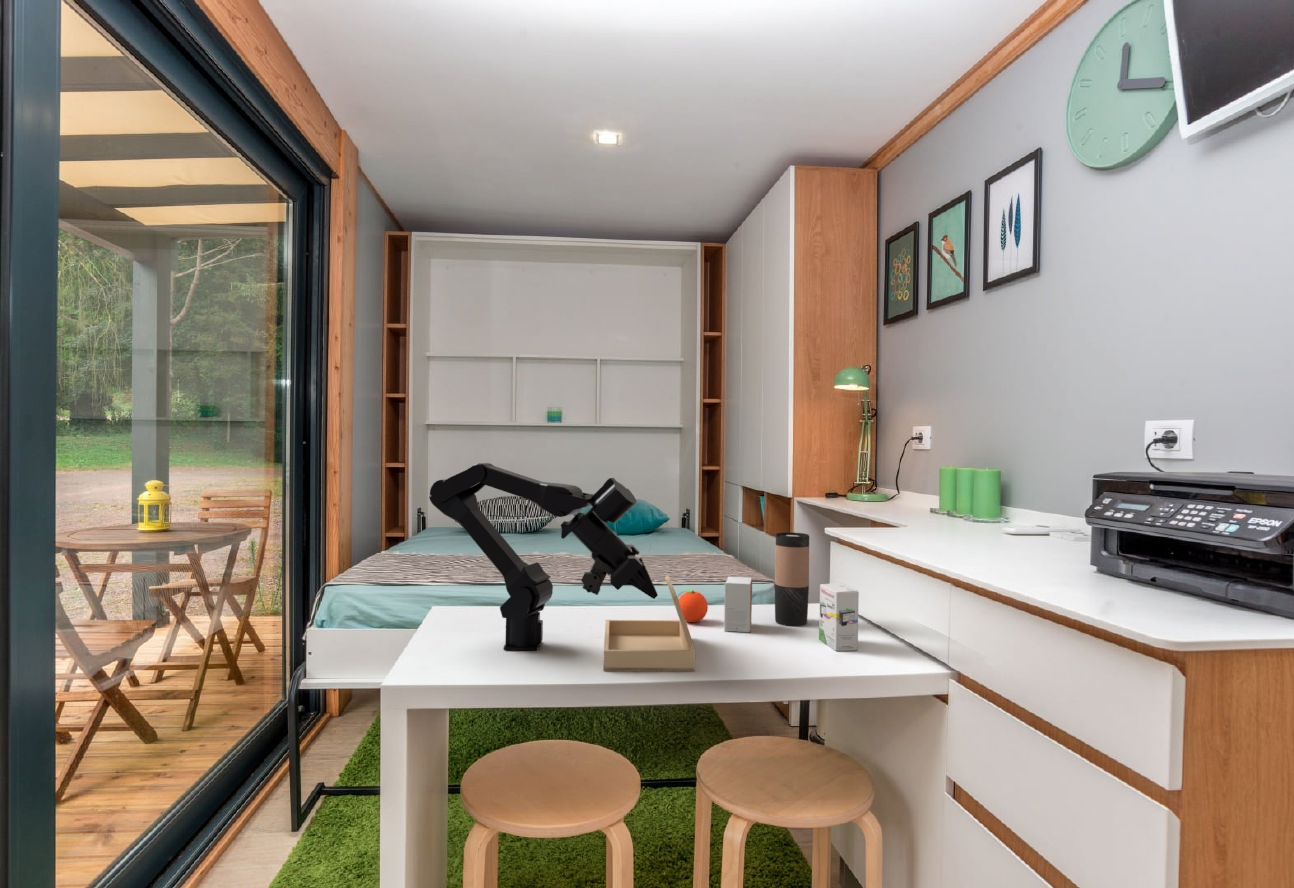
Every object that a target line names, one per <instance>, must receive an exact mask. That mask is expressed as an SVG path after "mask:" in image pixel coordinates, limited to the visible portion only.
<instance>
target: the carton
mask: <svg viewBox="0 0 1294 888" xmlns="http://www.w3.org/2000/svg"><path fill="white" fill-rule="evenodd" d="M603 641H604V642H603V643H604V644H603V668H602V669H603V670H602V671H603V672H695V671H696V670H695V669H696V668H695V667H696V666H695V665H696V651H695V648H694V646H693V644H691V645H689V644H688V641H687V638H686V635H685V633H684V630H683V627H682V625H681V622H680V619H679V620H677V619H672V620H671V619H605V624H604V640H603Z"/></svg>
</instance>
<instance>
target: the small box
mask: <svg viewBox="0 0 1294 888" xmlns="http://www.w3.org/2000/svg"><path fill="white" fill-rule="evenodd" d="M752 601H753V577H745V576H744V577H742V576H728V577H727V578H726V581H725V582H724V614H723V615H724V618H723V619H724V620H723V621H724V622H723V623H724V624H723V625H724V626H723V628H724V629H723V631H725V632H733V631H737V632H736V633H750V632H751V627H752V609H753V608H752V605H753V602H752Z"/></svg>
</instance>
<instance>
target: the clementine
mask: <svg viewBox="0 0 1294 888" xmlns="http://www.w3.org/2000/svg"><path fill="white" fill-rule="evenodd" d="M681 594H682V595H681ZM679 596H680V597H679ZM677 597H678V600H679V603H680V606H681V609H682V612H683V615H684V618H685V621H686V623H687V622H688V623H691V622H694V623H698V622H701V620H703V619H704V618H705V617H706V615H707V613H708V609H709V607H708V601H707V599H706V597H705V596H704V594H702V593H701V592H698V591H694V590H685V591H682V592H680V593H678V595H677Z"/></svg>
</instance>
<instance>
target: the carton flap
mask: <svg viewBox="0 0 1294 888" xmlns="http://www.w3.org/2000/svg"><path fill="white" fill-rule="evenodd" d="M664 578H665V581H666V584H667V587H668V590H669V593H670V595H671V598H672V602H673V604H674V608H675V610H676V613H677V616H678V618H679V620H680V622H681V625H682V627H683V630H684V633H685V635H686V638H687V641H688V644H689V645H691V644H692V645H693V644H694V641H693V639H692V635H691V632H690V630H689V628H688V624H687V621H685V618H684V615H683V612H682V609H681V606H680V603H679V596H678V595H677V593H676V590H675V588H674V586H673V583H672V579H671V578H670V576H669V575H666V576H664Z"/></svg>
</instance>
